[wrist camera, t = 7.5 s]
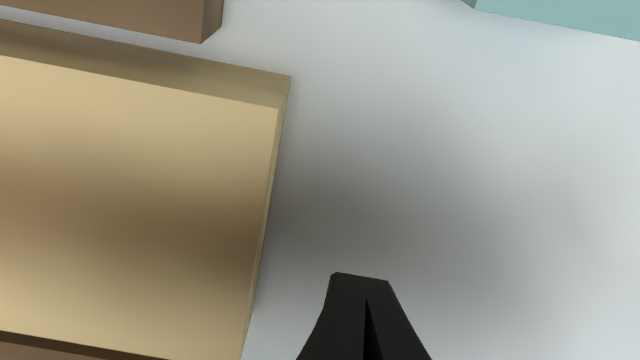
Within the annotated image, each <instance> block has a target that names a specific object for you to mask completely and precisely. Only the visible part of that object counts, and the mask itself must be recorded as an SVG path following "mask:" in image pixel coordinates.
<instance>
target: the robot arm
mask: <svg viewBox="0 0 640 360" xmlns="http://www.w3.org/2000/svg"><path fill="white" fill-rule="evenodd" d="M296 360H432V359H431V357H430V356H429V354H428V353H427V351H426V349H425V348H424V346H423V344H422V343H421V341H420V339H419V338H418V336H417V334H416V333H415V331H414V329H413V327H412V326H411V324H410V322H409V320H408V318H407V316H406V315H405V313H404V311H403V309H402V307H401V305H400V303H399V301H398V299H397V297H396V295H395V293H394V291H393V289H392V287H391V285H390V284H389V282H388V281H385V280H380V279H374V278H368V277H362V276H357V275H351V274H345V273H340V272H336V273H334V274H332V275H331V277H330V281H329V285H328V290H327V294H326V298H325V302H324V307H323V310H322V312H321V314H320V316H319V318H318V320H317V323H316V325H315V327H314V329H313V331H312V333H311V335H310V336H309V338H308V340H307V342H306V343H305V345H304V347H303V349H302V351H301V352H300V354H299V356H298V357H297V359H296Z"/></svg>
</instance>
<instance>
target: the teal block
mask: <svg viewBox="0 0 640 360" xmlns="http://www.w3.org/2000/svg"><path fill="white" fill-rule="evenodd" d="M462 1H464V2H465V3H466V4H468V5H469V6H470V7H472V8H473V9H475V10H480V11H485V12H491V13H496V14H501V15H506V16H511V17H516V18H521V19H527V20H532V21H537V22H542V23H547V24H552V25H557V26H563V27H568V28H573V29H578V30H583V31H588V32H593V33H598V34H604V35H609V36H614V37H619V38H624V39H629V40H634V41H640V0H462Z"/></svg>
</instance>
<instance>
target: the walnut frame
mask: <svg viewBox="0 0 640 360" xmlns="http://www.w3.org/2000/svg"><path fill="white" fill-rule="evenodd" d="M223 2H224V0H0V5H4V6H9V7H14V8H19V9H24V10H29V11H34V12H40V13H45V14H50V15H55V16H60V17H65V18H70V19H75V20H80V21H86V22H91V23H96V24H101V25H106V26H111V27H116V28H121V29H126V30H132V31H137V32H142V33H147V34H152V35H157V36H162V37H167V38H172V39H177V40H183V41H188V42H193V43H198V44H201V43H202V42H204V41H205V40H206V39H207V38H208V37H210V36H211V35H212V34H213V33H214V32H216V31H217V30H218V29H219V28H220V27H221V23H222V12H223ZM0 360H169V359H164V358H158V357H152V356H146V355H141V354H135V353H129V352H123V351H118V350H112V349H106V348H100V347H95V346H89V345H83V344H77V343H72V342H66V341H60V340H54V339H49V338H43V337H37V336H31V335H26V334H20V333H14V332H8V331H2V330H0Z"/></svg>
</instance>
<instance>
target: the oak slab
mask: <svg viewBox="0 0 640 360" xmlns="http://www.w3.org/2000/svg"><path fill="white" fill-rule="evenodd" d="M290 78H291V76H287V75H282V74H277V73H272V72H267V71H262V70H256V69H251V68H246V67H241V66H236V65H231V64H226V63H221V62H216V61H211V60H206V59H201V58H195V57H190V56H185V55H180V54H175V53H170V52H165V51H160V50H155V49H150V48H145V47H140V46H134V45H129V44H124V43H119V42H114V41H109V40H104V39H99V38H94V37H89V36H84V35H79V34H73V33H68V32H63V31H58V30H53V29H48V28H43V27H38V26H33V25H28V24H23V23H18V22H12V21H7V20H2V19H0V330H2V331H8V332H14V333H20V334H26V335H31V336H37V337H43V338H49V339H54V340H60V341H66V342H72V343H77V344H83V345H89V346H95V347H100V348H106V349H112V350H118V351H123V352H129V353H135V354H141V355H146V356H152V357H158V358H164V359H169V360H240V358H241V354H242V350H243V346H244V342H245V338H246V334H247V330H248V326H249V322H250V318H251V314H252V310H253V304H254V298H255V292H256V286H257V280H258V274H259V268H260V261H261V255H262V249H263V243H264V237H265V231H266V225H267V219H268V212H269V206H270V200H271V194H272V188H273V182H274V176H275V170H276V163H277V157H278V151H279V145H280V139H281V133H282V127H283V121H284V115H285V108H286V102H287V96H288V90H289V84H290Z"/></svg>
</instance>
